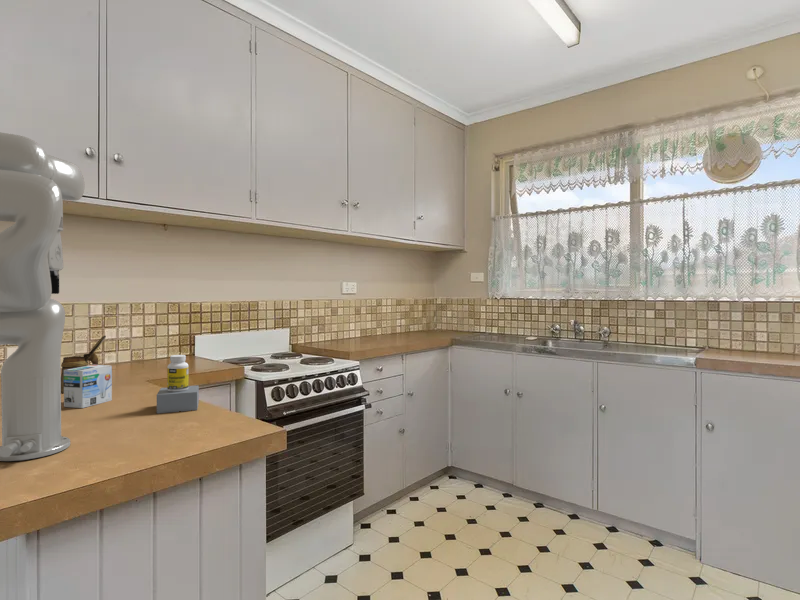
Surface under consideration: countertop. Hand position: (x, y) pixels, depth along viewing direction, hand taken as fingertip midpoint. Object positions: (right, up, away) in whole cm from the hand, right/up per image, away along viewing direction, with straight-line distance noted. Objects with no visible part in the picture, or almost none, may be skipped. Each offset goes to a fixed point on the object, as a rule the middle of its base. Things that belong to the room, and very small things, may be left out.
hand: (44, 293), depth 113 cm
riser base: (+24, -32, +18) cm, 44 cm away
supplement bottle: (+24, -27, +17) cm, 40 cm away
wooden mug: (-20, -32, +42) cm, 56 cm away
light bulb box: (-4, -32, +22) cm, 40 cm away
